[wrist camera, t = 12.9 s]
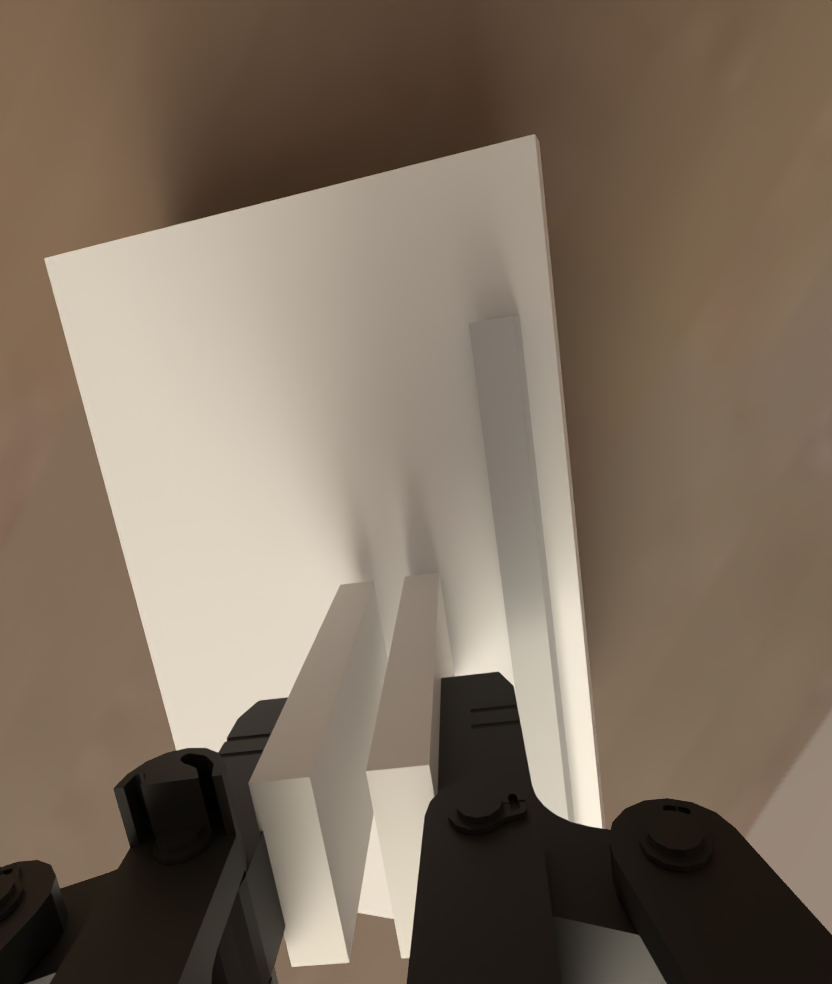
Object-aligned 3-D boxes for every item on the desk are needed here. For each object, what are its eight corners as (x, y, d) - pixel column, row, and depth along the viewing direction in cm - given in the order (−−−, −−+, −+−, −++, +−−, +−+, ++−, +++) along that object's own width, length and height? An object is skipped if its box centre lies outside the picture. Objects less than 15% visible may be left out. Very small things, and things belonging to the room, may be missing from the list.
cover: (64, 260, 16) (14, 255, 14) (539, 141, 12) (527, 121, 10) (224, 871, 20) (196, 910, 18) (615, 934, 16) (614, 990, 14)
